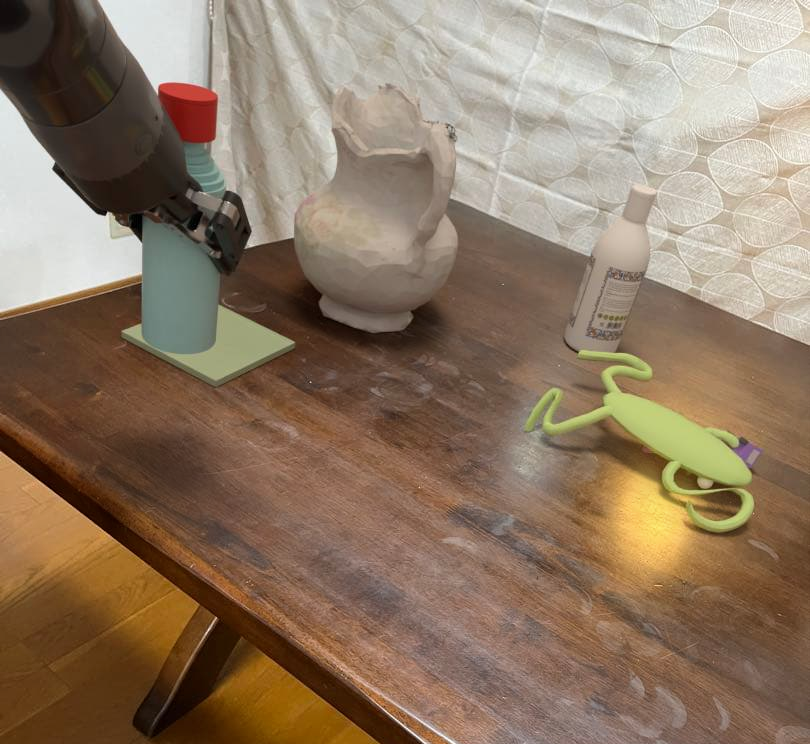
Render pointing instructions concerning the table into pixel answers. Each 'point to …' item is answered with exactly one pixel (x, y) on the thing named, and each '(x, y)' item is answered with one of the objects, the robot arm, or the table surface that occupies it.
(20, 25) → the robot arm
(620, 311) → the bath foam
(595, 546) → the table surface
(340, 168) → the ceramic pitcher
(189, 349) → the bottle
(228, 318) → the mat
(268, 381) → the table surface
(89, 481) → the table surface
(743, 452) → the figurine
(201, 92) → the cap
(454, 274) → the table surface
